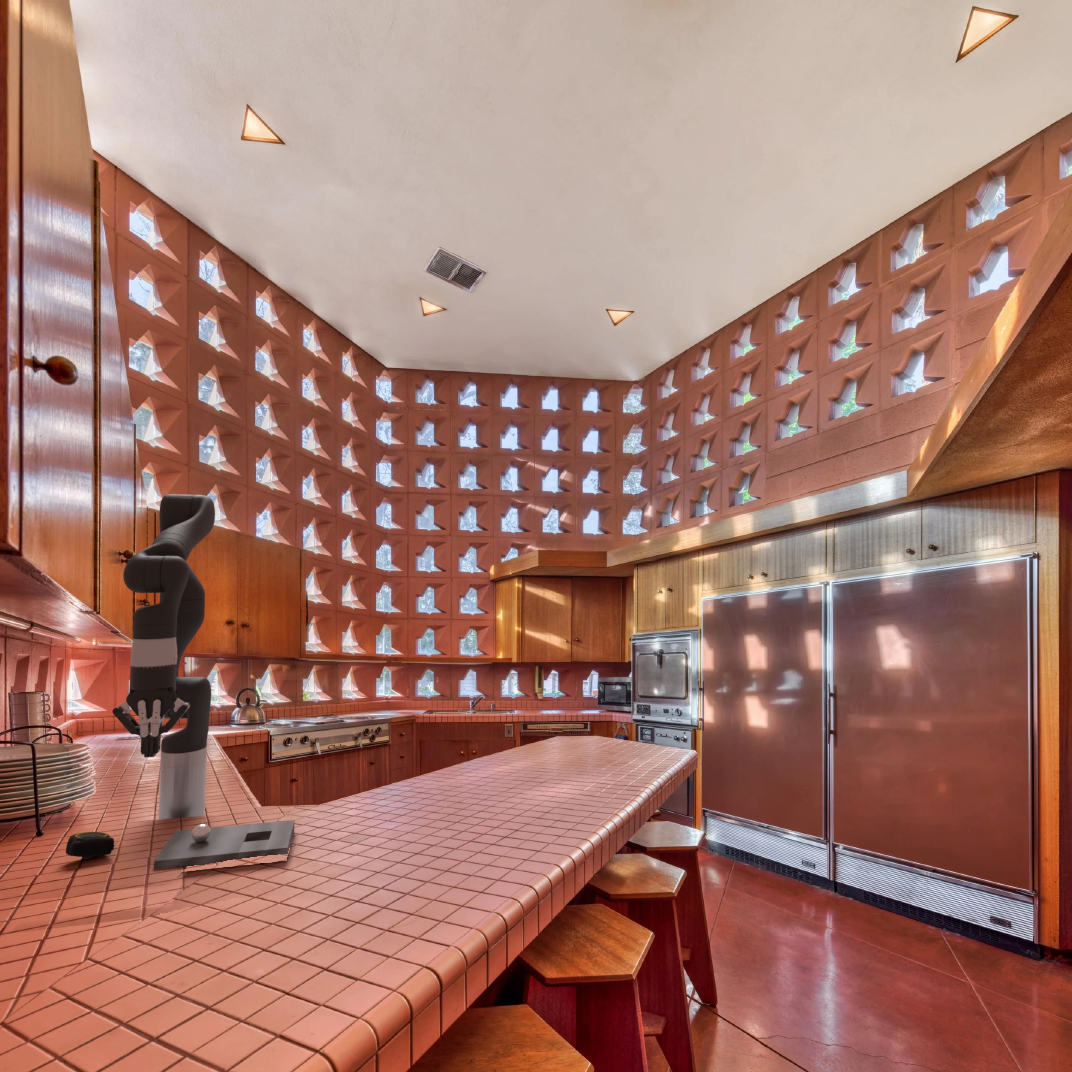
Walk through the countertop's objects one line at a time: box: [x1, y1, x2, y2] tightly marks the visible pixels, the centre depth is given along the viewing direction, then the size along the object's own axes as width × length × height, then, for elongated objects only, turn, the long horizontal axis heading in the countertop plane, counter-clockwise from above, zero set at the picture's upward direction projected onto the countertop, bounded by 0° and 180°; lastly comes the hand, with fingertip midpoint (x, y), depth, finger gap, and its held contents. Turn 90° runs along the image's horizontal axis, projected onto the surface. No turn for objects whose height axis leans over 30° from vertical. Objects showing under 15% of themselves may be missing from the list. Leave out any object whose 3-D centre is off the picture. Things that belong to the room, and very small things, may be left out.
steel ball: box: [192, 823, 211, 842], centre depth 123 cm, size 3×3×3 cm
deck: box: [153, 819, 295, 871], centre depth 124 cm, size 22×14×2 cm, turn 105°
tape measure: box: [65, 831, 116, 860], centre depth 121 cm, size 7×7×4 cm
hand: (150, 756), depth 121 cm, fingers closed
